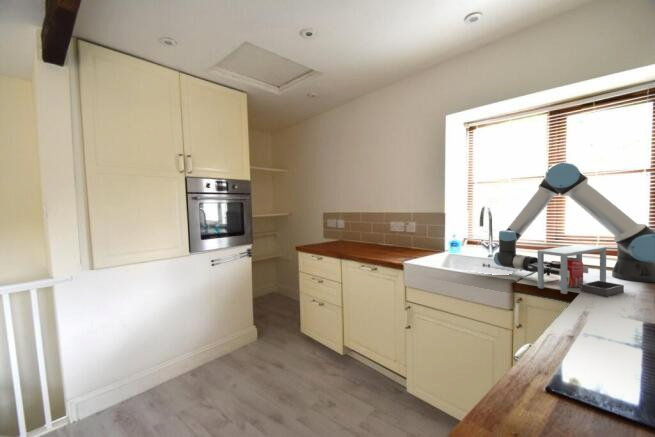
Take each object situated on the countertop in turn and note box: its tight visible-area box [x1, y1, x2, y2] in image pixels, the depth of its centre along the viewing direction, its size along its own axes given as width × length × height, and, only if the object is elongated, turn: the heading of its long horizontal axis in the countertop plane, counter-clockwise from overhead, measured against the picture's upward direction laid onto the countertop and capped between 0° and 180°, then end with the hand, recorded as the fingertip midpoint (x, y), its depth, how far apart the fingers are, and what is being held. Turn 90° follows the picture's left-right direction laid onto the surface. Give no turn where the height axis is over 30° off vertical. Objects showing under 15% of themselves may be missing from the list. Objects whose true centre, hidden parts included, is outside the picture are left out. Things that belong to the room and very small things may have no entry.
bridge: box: [537, 244, 607, 295], centre depth 118 cm, size 30×10×16 cm, turn 112°
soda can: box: [567, 256, 584, 288], centre depth 118 cm, size 7×7×12 cm
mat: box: [521, 274, 559, 284], centre depth 131 cm, size 10×10×1 cm
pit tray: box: [580, 280, 625, 298], centre depth 109 cm, size 12×8×3 cm, turn 112°
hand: (578, 272), depth 116 cm, fingers open, 13 cm apart
